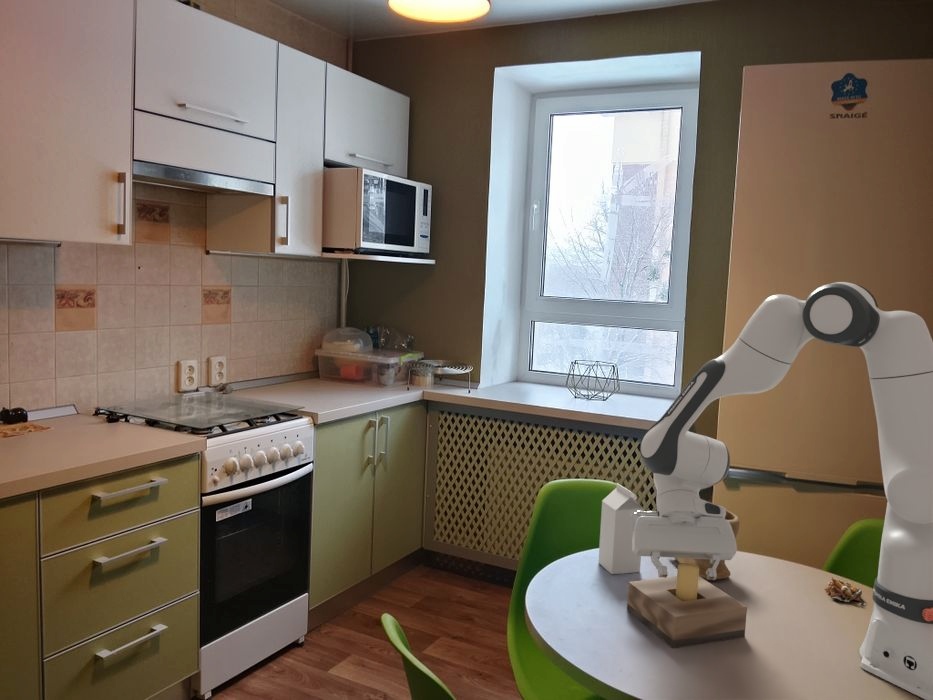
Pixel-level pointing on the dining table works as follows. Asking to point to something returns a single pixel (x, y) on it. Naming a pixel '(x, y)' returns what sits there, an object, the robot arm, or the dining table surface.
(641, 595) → the bore block
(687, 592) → the pin
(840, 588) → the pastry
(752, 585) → the dining table surface
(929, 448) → the robot arm
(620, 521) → the milk carton
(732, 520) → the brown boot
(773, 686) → the dining table surface
